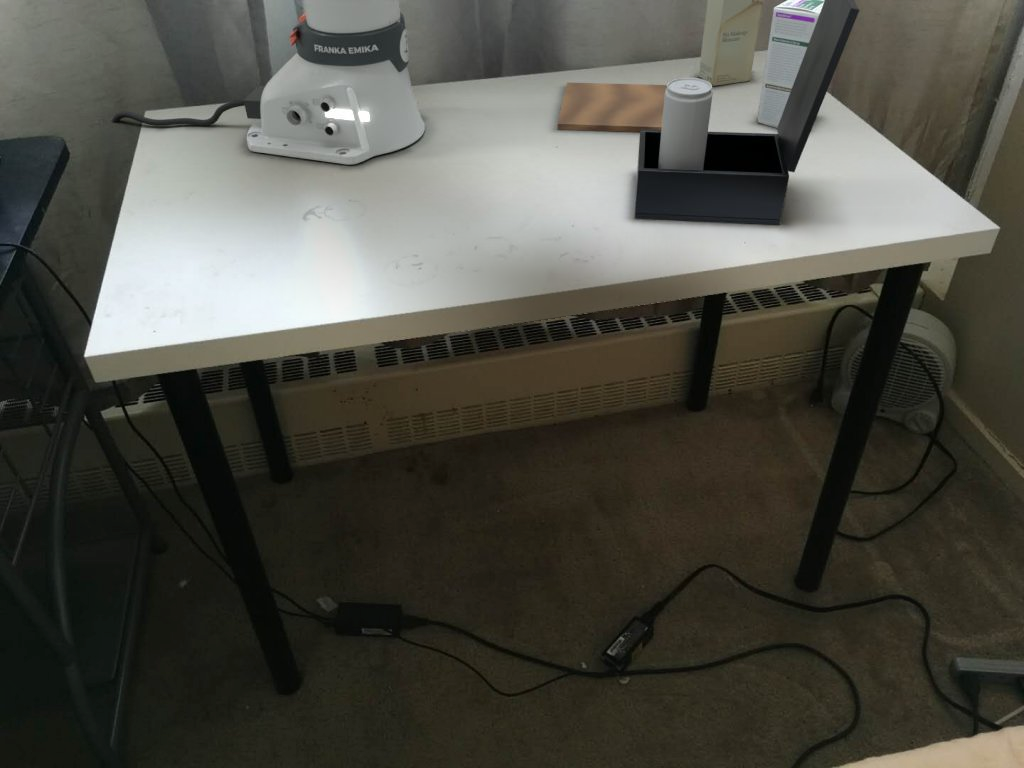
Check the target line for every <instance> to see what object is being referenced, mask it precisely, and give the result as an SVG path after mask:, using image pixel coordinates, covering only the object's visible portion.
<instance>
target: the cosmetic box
mask: <svg viewBox="0 0 1024 768" xmlns="http://www.w3.org/2000/svg"><path fill="white" fill-rule="evenodd" d="M763 2H764V0H707V3H706V11H705V19H704V28H703V36H702V44H701V52H700V61H699V67H698V68H699V69H698V77H699V78H700V79H702V80H705V81H707V82H709V83H710V84H711V85H712V87H714V86H716V87H717V86H723V85H729V84H736V83H744V82H749V81H751V78H752V71H753V65H754V59H755V51H756V46H757V41H758V40H757V39H758V33H759V27H760V21H761V15H762V8H763Z"/></svg>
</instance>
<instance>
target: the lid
mask: <svg viewBox="0 0 1024 768" xmlns="http://www.w3.org/2000/svg"><path fill="white" fill-rule="evenodd" d="M859 13H860V8H859V6H858V4H857V3H856V1H855V0H825V1H824V4H823V7H822V9H821V12H820V15H819V17H818V20H817V23H816V25H815V28H814V31H813V33H812V36H811V39H810V41H809V44H808V47H807V49H806V52H805V55H804V57H803V60H802V63H801V65H800V68H799V71H798V73H797V76H796V79H795V81H794V84H793V87H792V89H791V92H790V95H789V98H788V100H787V103H786V106H785V108H784V111H783V114H782V116H781V119H780V122H779V124H778V127H777V128H776V131H777V134H778V136H779V140H780V144H781V149H782V153H783V157H784V161H785V165H786V170H787V171H788V173H789V172H790V173H795V172H796V169H797V167H798V165H799V161H800V160H801V157H802V154H803V152H804V149H805V146H806V144H807V142H808V139H809V137H810V134H811V132H812V129H813V127H814V125H815V122H816V120H817V117H818V115H819V112H820V110H821V107H822V104H823V103H824V100H825V98H826V96H827V92H828V90H829V87H830V85H831V82H832V80H833V78H834V75H835V72H836V70H837V67H838V65H839V63H840V60H841V57H842V55H843V53H844V50H845V47H846V45H847V42H848V40H849V38H850V36H851V32H852V30H853V28H854V25H855V23H856V20H857V18H858V15H859Z"/></svg>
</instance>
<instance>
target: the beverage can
mask: <svg viewBox="0 0 1024 768" xmlns="http://www.w3.org/2000/svg"><path fill="white" fill-rule="evenodd" d="M666 85H667V89H666V91H665V97H664V108H663V119H662V130H661V141H660V152H659V163H658V169H677V170H703V166H704V158H705V150H706V142H707V134H708V132H709V125H710V119H711V118H710V117H711V110H712V102H713V91H712V90H713V85H711V84H710V83H709V82H707V81H705V80H704V79H702V78H698V77H678V78H673V79H672V80H669V81H668V82H667V84H666Z"/></svg>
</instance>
